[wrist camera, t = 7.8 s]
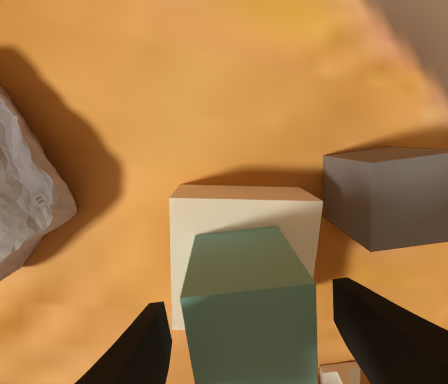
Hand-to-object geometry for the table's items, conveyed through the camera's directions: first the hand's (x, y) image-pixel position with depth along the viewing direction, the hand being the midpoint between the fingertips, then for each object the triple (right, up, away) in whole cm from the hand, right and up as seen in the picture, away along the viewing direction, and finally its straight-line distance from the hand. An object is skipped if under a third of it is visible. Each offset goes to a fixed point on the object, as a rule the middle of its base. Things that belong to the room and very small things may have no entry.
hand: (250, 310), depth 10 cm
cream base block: (0, +2, +7) cm, 7 cm away
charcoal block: (+8, +6, +6) cm, 11 cm away
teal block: (0, +1, +3) cm, 3 cm away
